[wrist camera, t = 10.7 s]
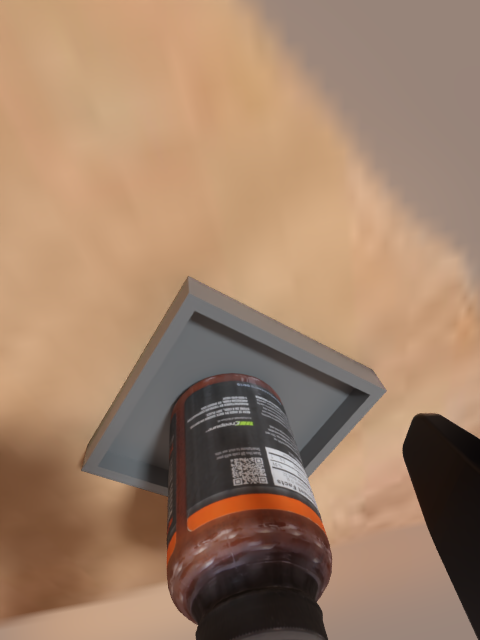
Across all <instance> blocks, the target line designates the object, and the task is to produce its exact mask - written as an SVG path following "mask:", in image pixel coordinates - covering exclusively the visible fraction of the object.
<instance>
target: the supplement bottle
mask: <svg viewBox="0 0 480 640" xmlns="http://www.w3.org/2000/svg"><path fill="white" fill-rule="evenodd" d="M168 476H169V478H168V521H167V580H168V589H169V592H170V595H171V598H172V600H173V602H174V604H175V606H176V607H177V609H178V610H179V611H180V612H181V613H182V614H183V615H184V616H185V617H187V618H188V619H189V620H191V621H192V622H193V623H195V624H197V625H198V627H197V631H196V640H328V638H327V634H326V631H325V627H324V624H323V614H322V610H321V608H320V607H319V605H318V604H317V603H316V602H317V601H318V599H319V598H320V597H321V595H322V593H323V591H324V590H325V588H326V587H327V585H328V583H329V580H330V576H331V573H332V554H331V550H330V544H329V541H328V538H327V535H326V532H325V529H324V526H323V524H322V520H321V516H320V513H319V510H318V507H317V504H316V501H315V498H314V495H313V492H312V489H311V487H310V484H309V481H308V478H307V475H306V472H305V469H304V466H303V463H302V460H301V457H300V454H299V451H298V448H297V444H296V442H295V439H294V436H293V433H292V430H291V427H290V424H289V421H288V418H287V415H286V411H285V409H284V407H283V404H282V402H281V399H280V397H279V396H278V395H277V393H276V392H275V391H274V390H273V389H272V388H271V386H269V385H268V384H266V383H265V382H264V381H262V380H260V379H258V378H256V377H253V376H249V375H245V374H238V373H226V374H219V375H215V376H211V377H207V378H205V379H203V380H200V381H199V382H197V383H195V384H194V385H193V386H191V387H190V388H189V389H187V390H186V391H185V392H184V393H183V395H182V396H181V397H180V398H179V399H178V401H177V403H176V404H175V406H174V408H173V411H172V415H171V421H170V433H169V475H168Z"/></svg>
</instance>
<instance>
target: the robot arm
mask: <svg viewBox="0 0 480 640" xmlns="http://www.w3.org/2000/svg"><path fill="white" fill-rule="evenodd" d="M403 457H404V461H405V464H406V467H407V470H408V472H409V475H410V478H411V481H412V484H413V487H414V490H415V493H416V496H417V498H418V501H419V504H420V507H421V510H422V513H423V516H424V519H425V522H426V524H427V527H428V529H429V532H430V534H431V537H432V539H433V542H434V544H435V546H436V549H437V551H438V553H439V555H440V557H441V559H442V562H443V564H444V566H445V568H446V571H447V573H448V575H449V577H450V579H451V581H452V583H453V585H454V588H455V590H456V592H457V595H458V597H459V599H460V601H461V603H462V605H463V608H464V610H465V612H466V614H467V616H468V619H469V621H470V623H471V625H472V627H473V629H474V631H475V634H476V636H477V638H478V640H480V439H479V438H477V437H476V436H474V435H472V434H471V433H469V432H467V431H466V430H464V429H463V428H461V427H459V426H458V425H456V424H454V423H453V422H451V421H449V420H448V419H446V418H445V417H443V416H441V415H439V414H435V413H420V414H417V415H415V417H414V418H413V420H412V422H411V425H410V428H409V430H408V433H407V436H406V438H405V441H404V444H403Z"/></svg>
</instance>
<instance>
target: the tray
mask: <svg viewBox="0 0 480 640" xmlns="http://www.w3.org/2000/svg"><path fill="white" fill-rule="evenodd" d="M226 373H238V374H245V375H249V376H253V377H256V378H258V379H260V380H262V381H264V382H265V383H266V384H268V385H269V386H271V388H272V389H273V390H274V391H275V392H276V393H277V395H278V396H279V397H280V399H281V402H282V404H283V407H284V409H285V411H286V415H287V418H288V421H289V424H290V427H291V430H292V433H293V436H294V439H295V442H296V444H297V448H298V451H299V454H300V457H301V460H302V463H303V466H304V469H305V472H306V475H307V478H308V477H309V476H310V475H311V474H312V473H313V472H314V471H315V470H316V468H317V467H318V466H319V465H320V464H321V463H322V462H323V461H324V460H325V459H326V457H327V456H328V455H329V454H330V453H331V452H332V451H333V450H334V449H335V447H336V446H337V445H338V444H339V443H340V442H341V441H342V440H343V439H344V438H345V436H346V435H347V434H348V433H349V432H350V431H351V430H352V429H353V428H354V426H355V425H356V424H357V423H358V422H359V421H360V420H361V419H362V418H363V417H364V415H365V414H366V413H367V412H368V411H369V410H370V409H371V408H372V407H373V405H374V404H375V403H376V402H377V401H378V400H379V399H380V398H381V397H382V396H383V394H384V393H385V392H386V391H387V390H386V389H385V387H384V386H383V384H382V383H381V381H380V380H379V378H378V377H377V376H376V374H375V373H374V371H373V370H372V369H370V368H368V367H366V366H364V365H362V364H360V363H358V362H356V361H354V360H352V359H350V358H348V357H346V356H344V355H342V354H340V353H339V352H337V351H335V350H333V349H331V348H329V347H327V346H325V345H323V344H321V343H319V342H317V341H315V340H313V339H311V338H309V337H307V336H305V335H303V334H301V333H299V332H297V331H295V330H293V329H291V328H289V327H287V326H285V325H283V324H282V323H280V322H278V321H276V320H274V319H272V318H270V317H268V316H266V315H264V314H262V313H260V312H258V311H256V310H254V309H252V308H250V307H248V306H246V305H244V304H242V303H240V302H238V301H236V300H234V299H232V298H230V297H228V296H227V295H225V294H223V293H221V292H219V291H217V290H215V289H213V288H211V287H209V286H207V285H205V284H203V283H201V282H199V281H197V280H195V279H193V278H191V277H189V276H188V277H187V279H186V281H185V282H184V284H183V286H182V287H181V289H180V291H179V293H178V294H177V296H176V298H175V299H174V301H173V303H172V304H171V306H170V308H169V309H168V311H167V313H166V314H165V316H164V318H163V319H162V321H161V323H160V324H159V326H158V328H157V329H156V331H155V333H154V335H153V336H152V338H151V340H150V341H149V343H148V345H147V346H146V348H145V350H144V351H143V353H142V355H141V356H140V358H139V360H138V361H137V363H136V365H135V366H134V368H133V370H132V371H131V373H130V375H129V377H128V378H127V380H126V382H125V383H124V385H123V387H122V388H121V390H120V392H119V393H118V395H117V397H116V398H115V400H114V402H113V403H112V405H111V407H110V408H109V410H108V412H107V414H106V415H105V417H104V419H103V420H102V422H101V424H100V425H99V427H98V429H97V430H96V432H95V434H94V435H93V437H92V439H91V440H90V442H89V444H88V447H87V451H86V454H85V458H84V462H83V466H82V470H81V471H84V472H87V473H91V474H94V475H97V476H101V477H104V478H107V479H111V480H114V481H117V482H121V483H124V484H127V485H131V486H134V487H137V488H141V489H144V490H147V491H151V492H154V493H157V494H160V495H164V496H167V497H168V478H169V476H168V475H169V433H170V421H171V415H172V411H173V408H174V406H175V404H176V403H177V401H178V399H179V398H180V397H181V396H182V395H183V393H184V392H185V391H186V390H187V389H189V388H190V387H191V386H193V385H194V384H195V383H197V382H199V381H200V380H203V379H205V378H207V377H211V376H215V375H219V374H226Z"/></svg>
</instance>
